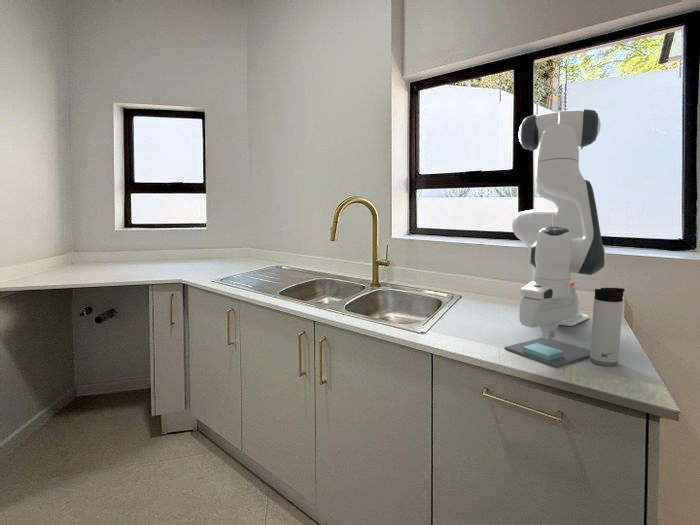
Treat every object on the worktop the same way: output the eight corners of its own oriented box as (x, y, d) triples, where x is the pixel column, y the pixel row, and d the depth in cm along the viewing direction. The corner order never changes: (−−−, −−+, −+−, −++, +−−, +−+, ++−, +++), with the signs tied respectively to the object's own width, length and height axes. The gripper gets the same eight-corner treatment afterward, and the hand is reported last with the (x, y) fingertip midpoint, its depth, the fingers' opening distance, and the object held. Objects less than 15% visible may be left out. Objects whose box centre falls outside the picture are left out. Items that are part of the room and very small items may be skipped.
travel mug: (608, 368, 103) (614, 290, 100) (584, 359, 109) (589, 285, 106) (624, 364, 105) (631, 287, 102) (600, 356, 111) (605, 283, 108)
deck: (537, 342, 116) (522, 346, 114) (563, 351, 109) (549, 355, 107) (536, 347, 117) (522, 351, 114) (563, 356, 110) (548, 360, 107)
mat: (545, 338, 126) (545, 336, 126) (597, 354, 112) (598, 352, 112) (504, 349, 118) (504, 347, 118) (555, 367, 104) (556, 365, 104)
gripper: (564, 282, 118) (561, 329, 120) (516, 290, 108) (513, 340, 110) (586, 285, 112) (582, 334, 114) (537, 294, 103) (534, 347, 105)
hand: (548, 337), depth 112 cm, fingers closed
